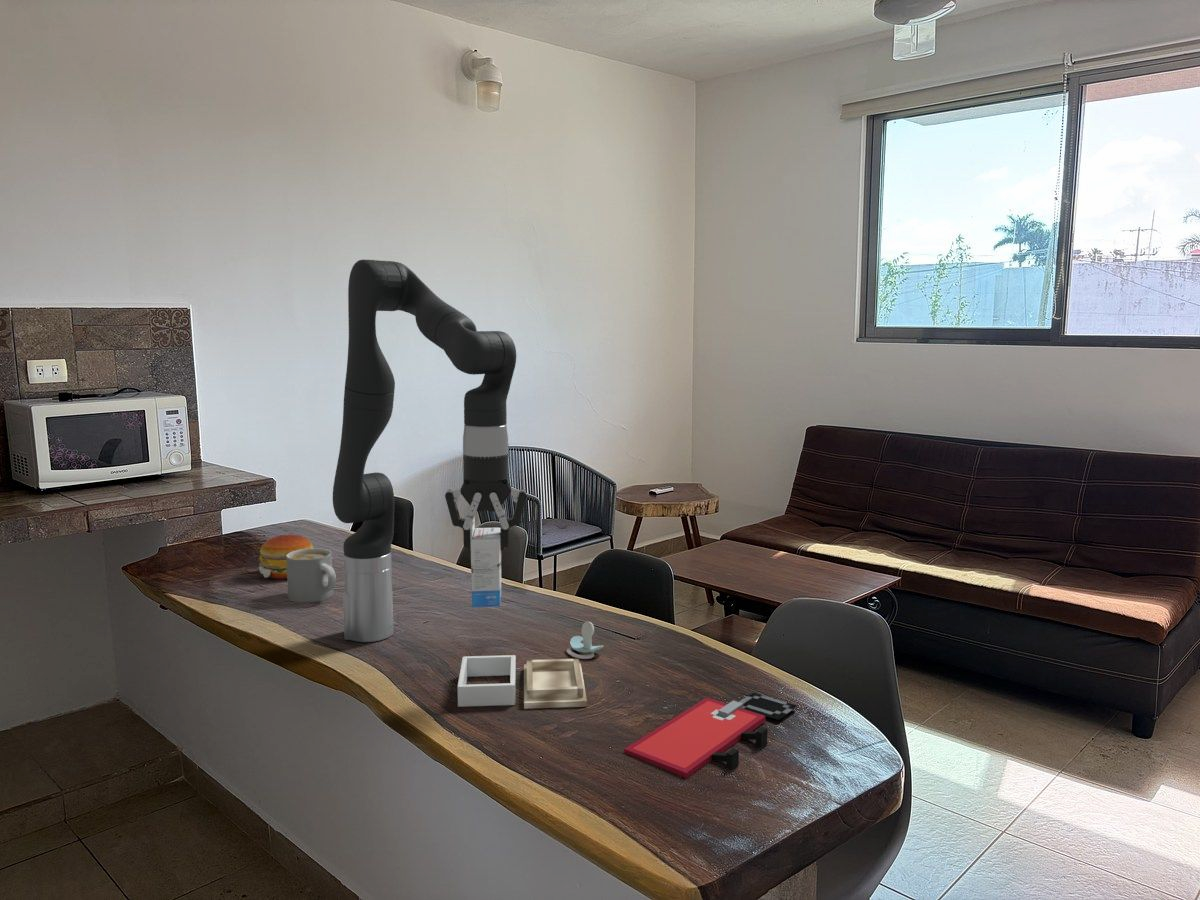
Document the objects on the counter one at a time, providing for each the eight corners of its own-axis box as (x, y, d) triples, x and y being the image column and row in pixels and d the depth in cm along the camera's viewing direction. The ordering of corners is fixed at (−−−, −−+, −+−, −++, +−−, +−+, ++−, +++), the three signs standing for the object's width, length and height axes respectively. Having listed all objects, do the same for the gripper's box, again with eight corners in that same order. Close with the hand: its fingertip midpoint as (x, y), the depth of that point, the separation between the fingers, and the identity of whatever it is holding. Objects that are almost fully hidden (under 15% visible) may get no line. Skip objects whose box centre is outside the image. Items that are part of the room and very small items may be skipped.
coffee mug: (280, 595, 200) (278, 553, 199) (321, 586, 207) (319, 545, 206) (306, 609, 191) (304, 565, 189) (348, 599, 198) (346, 557, 196)
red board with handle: (808, 714, 142) (729, 690, 152) (808, 698, 142) (729, 675, 152) (708, 791, 120) (624, 757, 129) (708, 772, 119) (624, 740, 129)
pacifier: (584, 664, 162) (607, 655, 167) (584, 633, 161) (607, 624, 165) (559, 653, 168) (582, 644, 172) (558, 622, 167) (581, 614, 171)
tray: (524, 708, 143) (523, 694, 143) (523, 669, 159) (523, 656, 159) (586, 706, 144) (587, 692, 144) (580, 668, 160) (580, 655, 160)
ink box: (500, 607, 144) (499, 521, 142) (470, 608, 144) (469, 522, 141) (502, 591, 153) (501, 510, 150) (474, 592, 152) (472, 510, 150)
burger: (327, 572, 219) (325, 534, 217) (282, 585, 208) (280, 545, 206) (292, 563, 226) (290, 526, 225) (247, 576, 215) (244, 537, 213)
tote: (457, 706, 144) (457, 686, 143) (463, 674, 157) (462, 656, 156) (515, 704, 145) (514, 685, 144) (515, 673, 157) (515, 655, 157)
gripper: (440, 455, 140) (441, 556, 142) (528, 454, 141) (528, 555, 144) (444, 447, 147) (446, 544, 150) (528, 447, 149) (528, 543, 151)
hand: (486, 549), depth 147 cm, fingers closed on ink box, 5 cm apart
